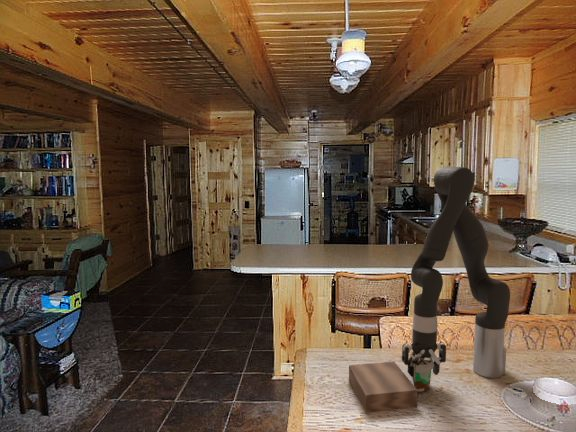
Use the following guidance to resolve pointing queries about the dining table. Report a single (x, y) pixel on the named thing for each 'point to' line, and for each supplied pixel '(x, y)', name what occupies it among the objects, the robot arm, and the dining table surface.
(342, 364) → the dining table surface
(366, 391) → the walnut box
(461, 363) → the dining table surface
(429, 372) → the food container
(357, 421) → the dining table surface
